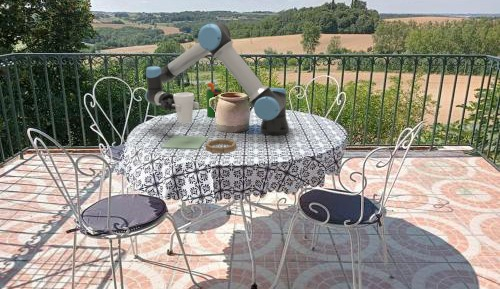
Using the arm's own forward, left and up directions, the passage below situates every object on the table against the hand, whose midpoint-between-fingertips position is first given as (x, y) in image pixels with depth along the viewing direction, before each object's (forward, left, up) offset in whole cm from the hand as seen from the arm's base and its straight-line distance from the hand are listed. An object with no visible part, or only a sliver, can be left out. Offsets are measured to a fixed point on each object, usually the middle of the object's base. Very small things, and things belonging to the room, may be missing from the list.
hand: (189, 107), depth 182 cm
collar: (-15, +3, -18) cm, 24 cm away
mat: (+4, -3, -18) cm, 19 cm away
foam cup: (+4, -3, -8) cm, 9 cm away
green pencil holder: (+3, -57, -19) cm, 60 cm away
